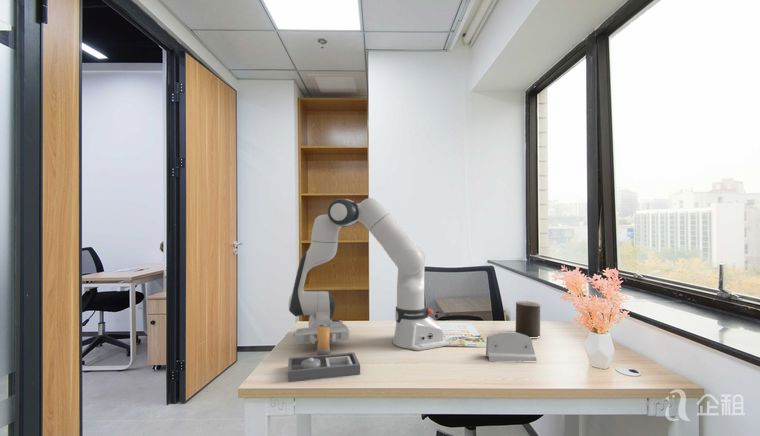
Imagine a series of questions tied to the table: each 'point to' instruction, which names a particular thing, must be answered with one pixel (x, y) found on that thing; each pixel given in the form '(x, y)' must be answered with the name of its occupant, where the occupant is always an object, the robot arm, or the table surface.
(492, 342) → the hinge
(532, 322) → the pillar candle
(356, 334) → the table surface
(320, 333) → the wooden handle stamp
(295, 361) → the dark grey sorting tray
